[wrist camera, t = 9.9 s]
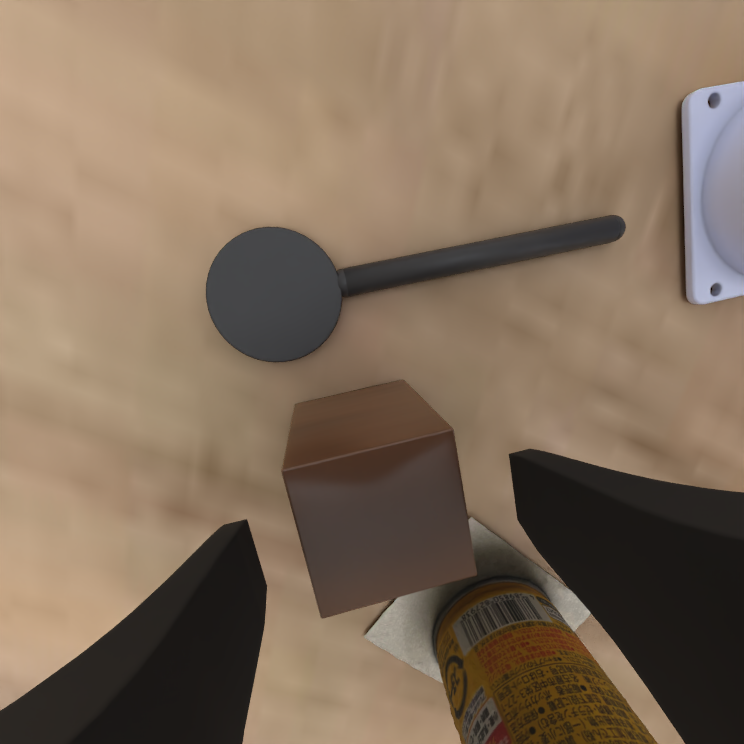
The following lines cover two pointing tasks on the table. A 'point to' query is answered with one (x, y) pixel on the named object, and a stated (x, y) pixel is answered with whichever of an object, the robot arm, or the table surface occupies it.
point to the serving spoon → (347, 280)
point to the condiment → (509, 654)
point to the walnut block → (376, 497)
